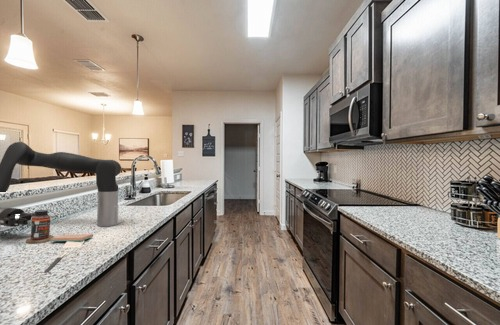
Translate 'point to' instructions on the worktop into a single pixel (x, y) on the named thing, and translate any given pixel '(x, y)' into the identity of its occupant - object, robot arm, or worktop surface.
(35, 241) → the coaster
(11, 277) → the worktop surface
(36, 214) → the supplement bottle
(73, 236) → the tile
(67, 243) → the spatula
